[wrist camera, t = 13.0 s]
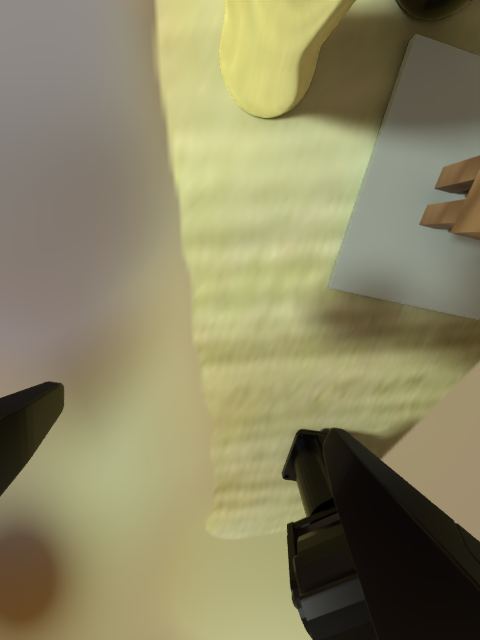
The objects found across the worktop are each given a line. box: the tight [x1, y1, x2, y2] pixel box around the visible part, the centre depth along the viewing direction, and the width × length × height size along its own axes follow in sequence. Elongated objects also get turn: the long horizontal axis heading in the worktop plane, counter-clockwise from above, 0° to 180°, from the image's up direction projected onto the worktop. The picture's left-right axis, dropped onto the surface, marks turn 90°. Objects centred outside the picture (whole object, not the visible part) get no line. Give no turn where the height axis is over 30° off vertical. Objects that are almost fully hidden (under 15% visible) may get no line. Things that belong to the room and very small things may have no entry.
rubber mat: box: [327, 34, 480, 320], centre depth 18 cm, size 16×14×1 cm
